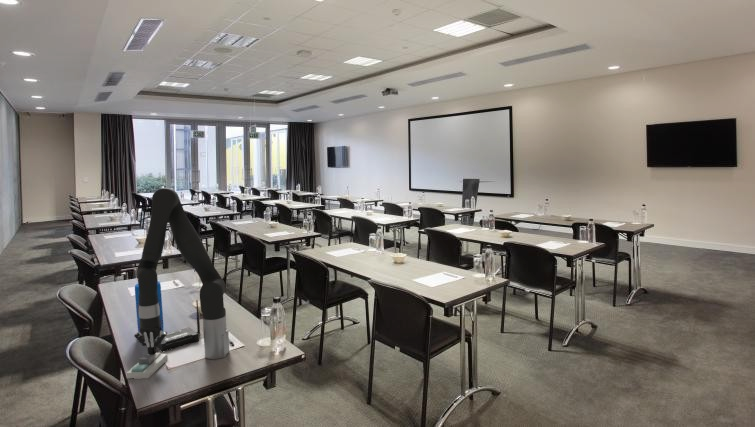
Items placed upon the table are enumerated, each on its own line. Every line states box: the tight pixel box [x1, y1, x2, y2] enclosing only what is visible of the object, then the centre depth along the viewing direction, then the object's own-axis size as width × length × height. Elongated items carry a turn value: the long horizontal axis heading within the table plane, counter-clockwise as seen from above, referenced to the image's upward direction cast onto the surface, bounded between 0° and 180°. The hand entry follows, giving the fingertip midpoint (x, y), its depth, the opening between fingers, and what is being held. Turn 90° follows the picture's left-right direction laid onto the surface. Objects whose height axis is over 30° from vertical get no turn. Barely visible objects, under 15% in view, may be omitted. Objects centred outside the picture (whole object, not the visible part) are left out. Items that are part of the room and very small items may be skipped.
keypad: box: [126, 353, 169, 380], centre depth 173 cm, size 8×16×2 cm, turn 1°
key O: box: [131, 363, 148, 372], centre depth 168 cm, size 4×4×3 cm
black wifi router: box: [156, 299, 201, 353], centre depth 197 cm, size 20×14×17 cm
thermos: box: [134, 281, 165, 336], centre depth 205 cm, size 11×11×25 cm
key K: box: [147, 352, 161, 360], centre depth 178 cm, size 4×4×3 cm
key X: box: [138, 354, 154, 366], centre depth 172 cm, size 4×4×3 cm
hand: (152, 354), depth 177 cm, fingers closed
